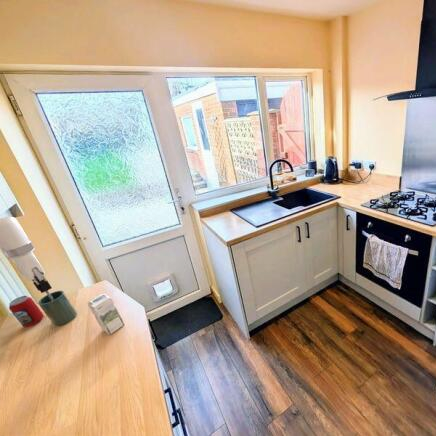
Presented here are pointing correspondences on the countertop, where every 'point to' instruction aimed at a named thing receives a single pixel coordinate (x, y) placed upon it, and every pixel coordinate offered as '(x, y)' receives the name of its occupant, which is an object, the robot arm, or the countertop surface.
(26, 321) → the beverage can
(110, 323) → the syrup box
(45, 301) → the dark green mug
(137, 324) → the countertop surface
